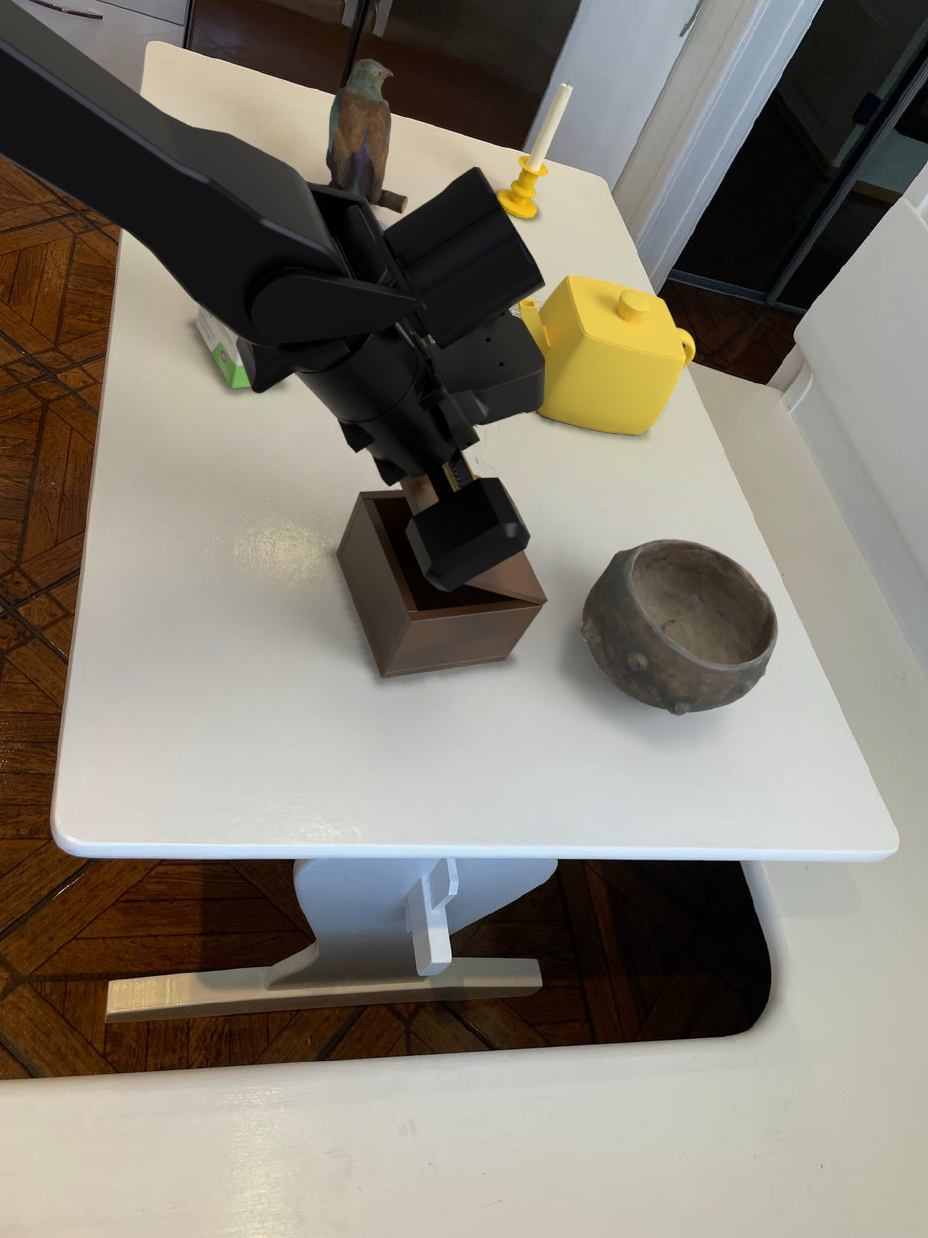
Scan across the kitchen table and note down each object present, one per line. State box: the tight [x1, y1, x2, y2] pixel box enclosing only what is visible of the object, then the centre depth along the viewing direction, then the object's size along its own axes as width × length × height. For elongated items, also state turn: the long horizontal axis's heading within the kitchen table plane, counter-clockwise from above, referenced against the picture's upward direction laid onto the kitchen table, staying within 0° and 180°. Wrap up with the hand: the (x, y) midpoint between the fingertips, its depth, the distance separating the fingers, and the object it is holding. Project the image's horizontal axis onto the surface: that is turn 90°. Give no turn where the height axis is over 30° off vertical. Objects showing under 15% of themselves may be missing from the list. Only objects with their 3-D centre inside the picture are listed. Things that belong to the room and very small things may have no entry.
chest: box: [335, 489, 544, 680], centre depth 70 cm, size 11×12×7 cm
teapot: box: [517, 274, 696, 436], centre depth 92 cm, size 20×12×12 cm, turn 98°
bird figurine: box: [318, 58, 409, 215], centre depth 97 cm, size 13×10×20 cm
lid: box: [398, 450, 549, 606], centre depth 64 cm, size 11×12×4 cm
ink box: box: [195, 304, 281, 389], centre depth 78 cm, size 9×5×12 cm, turn 30°
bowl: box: [579, 538, 779, 717], centre depth 73 cm, size 14×15×10 cm
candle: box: [496, 80, 574, 219], centre depth 110 cm, size 5×5×16 cm
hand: (475, 502), depth 63 cm, fingers open, 9 cm apart
